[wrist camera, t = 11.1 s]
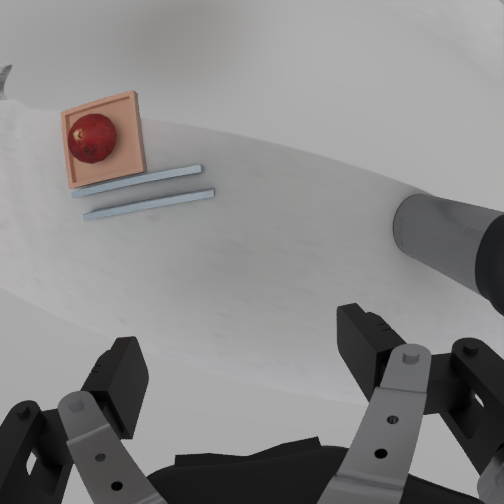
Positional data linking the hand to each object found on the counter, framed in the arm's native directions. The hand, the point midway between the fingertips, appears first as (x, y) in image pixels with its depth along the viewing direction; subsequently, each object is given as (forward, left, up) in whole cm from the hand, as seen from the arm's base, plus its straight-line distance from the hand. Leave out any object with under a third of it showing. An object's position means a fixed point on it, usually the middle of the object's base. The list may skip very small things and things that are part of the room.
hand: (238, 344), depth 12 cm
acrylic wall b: (+10, -7, -28) cm, 31 cm away
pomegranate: (+14, -13, -28) cm, 34 cm away
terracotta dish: (+14, -13, -28) cm, 34 cm away
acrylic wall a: (+9, -4, -28) cm, 30 cm away
